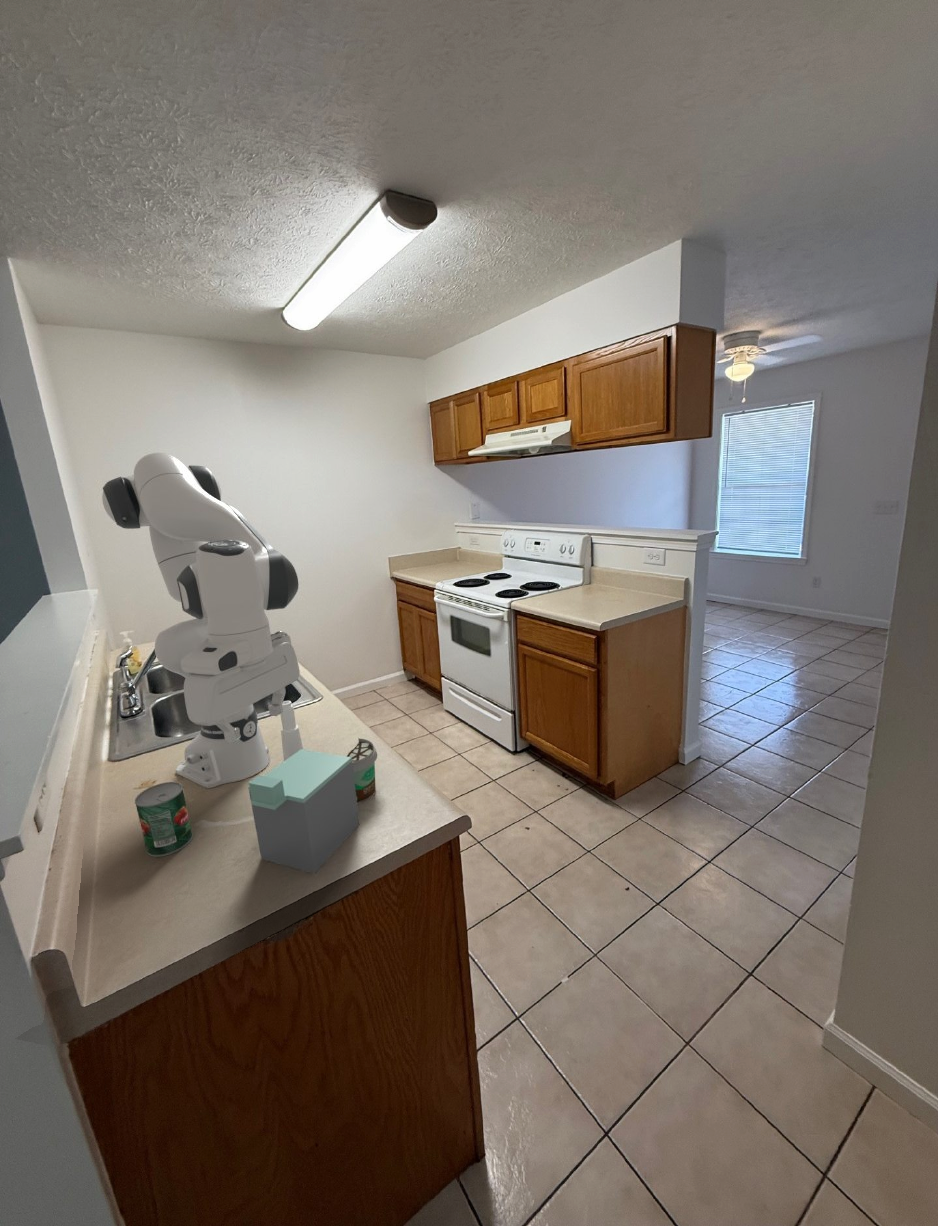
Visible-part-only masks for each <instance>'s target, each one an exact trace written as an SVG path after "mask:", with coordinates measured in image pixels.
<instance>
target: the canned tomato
mask: <svg viewBox="0 0 938 1226" xmlns="http://www.w3.org/2000/svg"><path fill="white" fill-rule="evenodd" d="M183 788H184V787H183V784H182V783H181V782H176V781H167V782H162V783H159V784H155V785H152V786H150V787H148V788H146V789H144V790H143V791H141V792H140V793H139V794H138V795H137V796H136V797H135V799H134V804H135V807H136V812H137V816H138V820H139V824H140V828H141V833H142V835H143V841H144V845H145V847H146V853H147V855H149V856H150V857H155V858H157V857H158V858H159V857H166V856H168V855H172V854H175V853H176V852H179V851H180V850H183V849H184V848H185V847H186V846H188V845H189V844H190V842H191V841H192V840H193V837H194V833H193V830H192V825H191V822H190V821H191V820H190V815H189V812H188V807H187V802H186V801H187V800H186V797H185V793H184V789H183Z"/></svg>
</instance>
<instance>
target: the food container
mask: <svg viewBox="0 0 938 1226" xmlns="http://www.w3.org/2000/svg"><path fill="white" fill-rule="evenodd" d="M346 757H351V759H352V767H353V775H354V783H355V791H356V799H357V804H358V803H361V802H364V801H366V800H367V799H369V798H371V797H372V796H373V795H374V794H375V792H376V767H375V763H376V761H377V758H378V753H377V749H376V746H375V745H374V743H373V742H372V741H370V740H368V739H365V738H358V743H357V744H356V745H355V746H354V748H352V749H351V750H350V751H349V752H348V753H347V755H346Z"/></svg>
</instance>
